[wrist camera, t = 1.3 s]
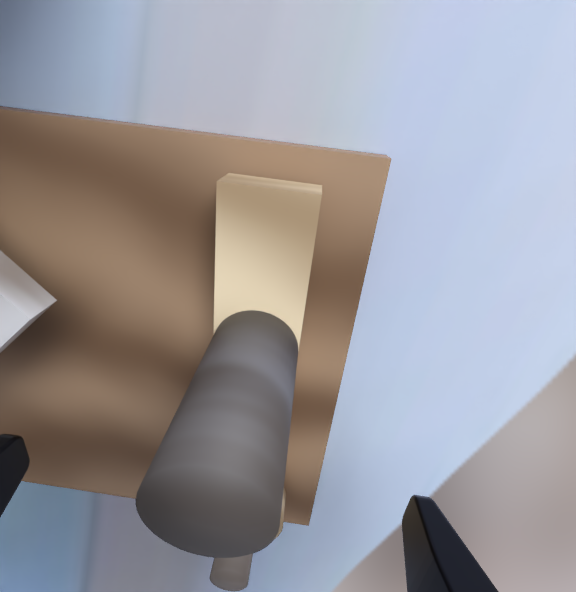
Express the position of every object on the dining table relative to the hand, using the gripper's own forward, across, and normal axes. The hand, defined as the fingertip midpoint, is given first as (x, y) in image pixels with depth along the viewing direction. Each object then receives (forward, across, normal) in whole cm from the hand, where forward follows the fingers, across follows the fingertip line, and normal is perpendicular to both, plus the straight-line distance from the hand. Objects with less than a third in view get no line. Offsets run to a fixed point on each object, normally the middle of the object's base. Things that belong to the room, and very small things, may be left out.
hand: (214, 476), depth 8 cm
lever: (+7, 0, +3) cm, 7 cm away
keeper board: (+8, +6, +3) cm, 10 cm away
